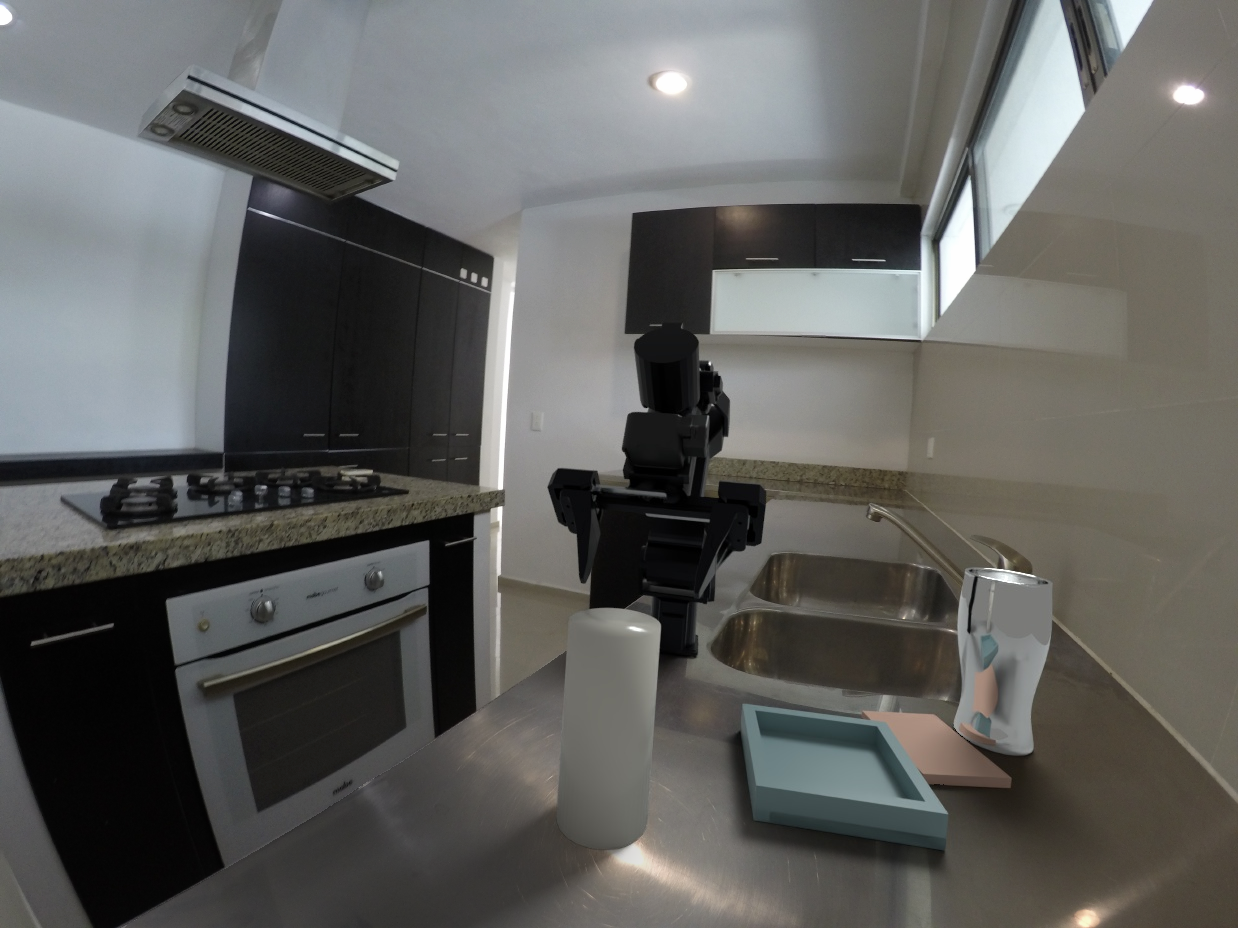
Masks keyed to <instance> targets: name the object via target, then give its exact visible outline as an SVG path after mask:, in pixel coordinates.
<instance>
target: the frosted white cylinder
mask: <svg viewBox="0 0 1238 928" xmlns="http://www.w3.org/2000/svg"><path fill="white" fill-rule="evenodd" d="M567 625H568V627H567V629H568V630H567V642H566V643H567V644H566V657H565V672H564V673H565V676H564V690H563V702H562V703H563V705H562V719H561V721H562V722H561V736H560V737H561V738H560V751H559V765H558V766H559V767H558V780H557V781H558V782H557V796H556V797H557V798H556V811H555V812H556V813H555V819H556V820H555V821H556V824H557V827H558V828H559V830H560V832H561V833H562V834H563V835H564V836H565V837H566V838H567V839H568V840H570V841H571V842H573V843H575V844H577V845H579V846H582V847H584V848H588V849H593V850H599V851H600V850H602V851H605V850H607V851H608V850H616V849H621V848H625V847H627V846H630V845H631V844H634V843H635V842H636V841H638V840H639V839H640V838H641V837H642V836H643V834H644V833H645V831H646V828H647V826H646V825H648V816H649V815H648V814H649V802H650V801H649V800H650V799H649V798H650V788H651V771H652V760H653V759H652V758H653V746H654V745H653V744H654V730H655V719H656V718H655V716H656V702H657V691H658V690H657V687H658V674H659V661H660V660H659V659H660V652H659V648H660V634H661V624H660V622H659V621H658V620H657V619H655V618H654V617H652V616H651V615H650V614H647V613H643V612H640V611H636V610H631V609H625V608H618V607H617V608H616V607H615V608H614V607H599V608H598V607H597V608H587V609H583V610H579V611H577V612H574V613H572V614H571V615H570V616H569V618H568V624H567ZM638 838H639V839H638Z"/></svg>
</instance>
